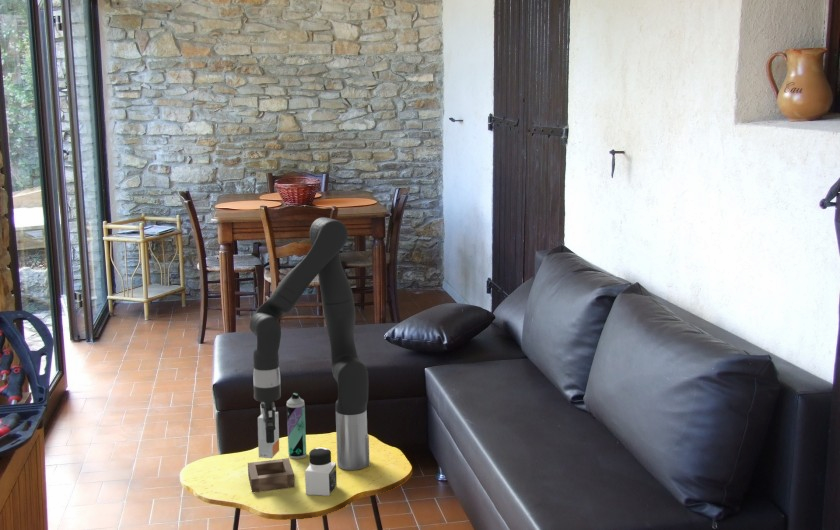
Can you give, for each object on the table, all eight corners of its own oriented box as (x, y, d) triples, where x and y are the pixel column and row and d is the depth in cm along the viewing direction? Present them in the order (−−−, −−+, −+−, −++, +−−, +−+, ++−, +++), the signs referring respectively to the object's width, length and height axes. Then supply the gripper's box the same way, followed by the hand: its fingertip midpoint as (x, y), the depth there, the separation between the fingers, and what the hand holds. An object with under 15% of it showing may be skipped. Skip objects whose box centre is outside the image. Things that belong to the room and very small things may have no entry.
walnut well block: (289, 470, 265) (288, 458, 264) (294, 487, 253) (294, 474, 253) (248, 475, 262) (247, 462, 261) (252, 492, 250) (251, 479, 249)
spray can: (291, 451, 279) (288, 390, 276) (308, 452, 278) (306, 391, 275) (286, 458, 274) (283, 396, 270) (303, 459, 273) (301, 396, 269)
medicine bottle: (330, 496, 247) (328, 455, 245) (305, 494, 249) (303, 454, 246) (337, 485, 254) (335, 445, 252) (312, 484, 255) (311, 444, 253)
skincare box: (272, 459, 253) (271, 418, 250) (258, 457, 253) (256, 417, 251) (280, 450, 258) (278, 411, 256) (266, 449, 259) (264, 410, 257)
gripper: (283, 389, 246) (285, 445, 249) (277, 374, 260) (279, 427, 263) (255, 391, 244) (258, 448, 247) (251, 376, 258) (253, 430, 261)
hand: (268, 437), depth 255 cm, fingers closed on skincare box, 7 cm apart
